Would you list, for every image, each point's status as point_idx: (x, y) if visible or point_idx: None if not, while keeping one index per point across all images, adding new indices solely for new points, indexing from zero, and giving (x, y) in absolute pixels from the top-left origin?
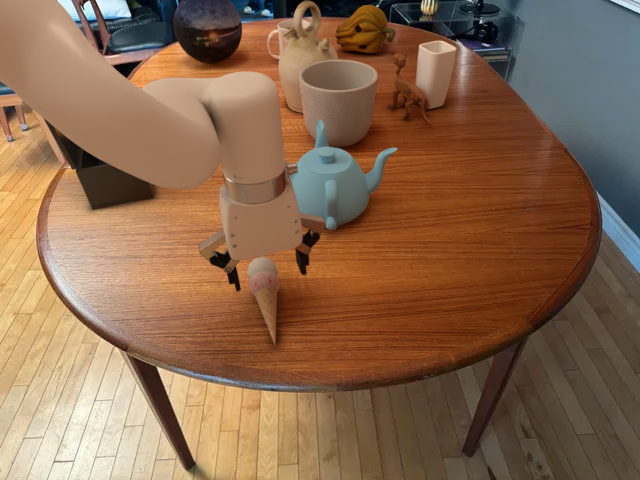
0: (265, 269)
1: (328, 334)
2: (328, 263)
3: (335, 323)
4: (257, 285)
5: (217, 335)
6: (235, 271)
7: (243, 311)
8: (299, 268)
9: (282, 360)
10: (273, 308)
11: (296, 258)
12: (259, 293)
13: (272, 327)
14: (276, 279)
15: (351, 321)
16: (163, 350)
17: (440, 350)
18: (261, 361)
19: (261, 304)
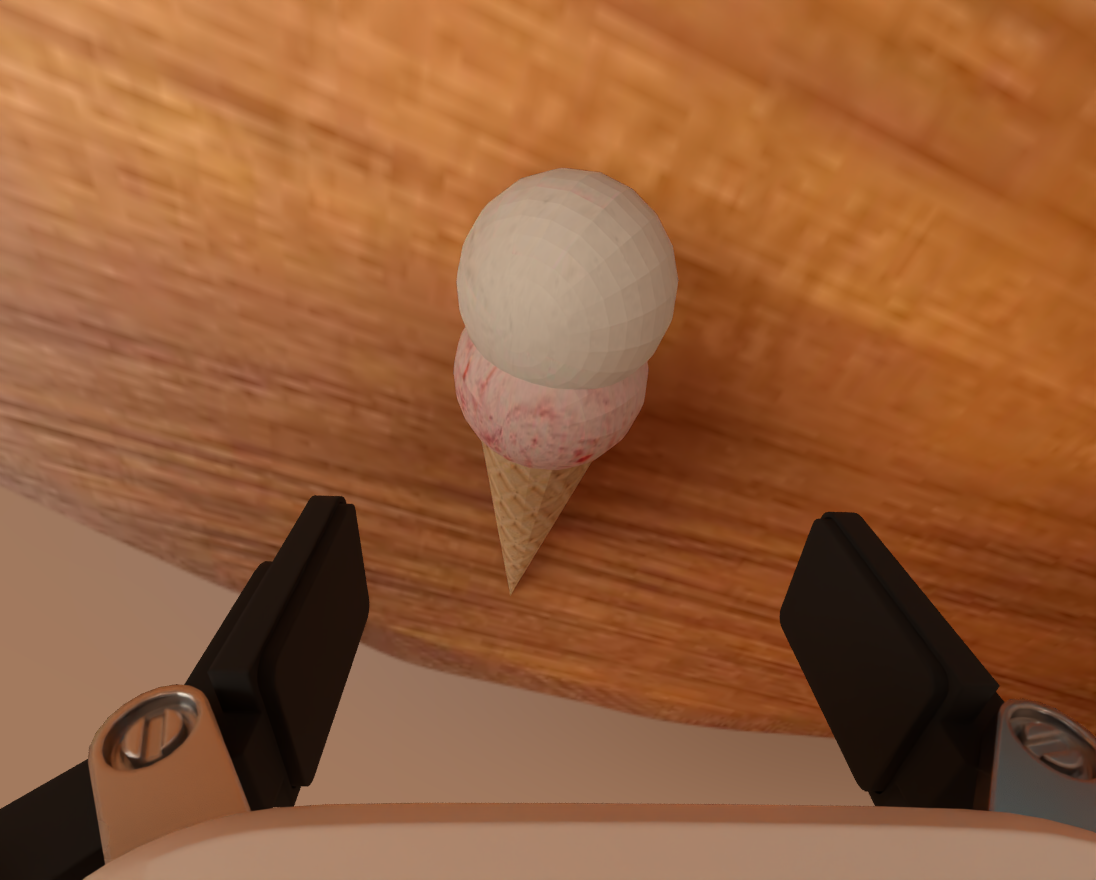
0: (585, 385)
1: (714, 604)
2: (994, 230)
3: (765, 574)
4: (498, 449)
5: (279, 488)
6: (288, 803)
7: (410, 404)
8: (798, 594)
9: (519, 640)
10: (550, 521)
11: (837, 558)
12: (500, 463)
13: (518, 567)
14: (629, 427)
15: None
16: (33, 486)
17: None
18: (447, 625)
19: (497, 494)
